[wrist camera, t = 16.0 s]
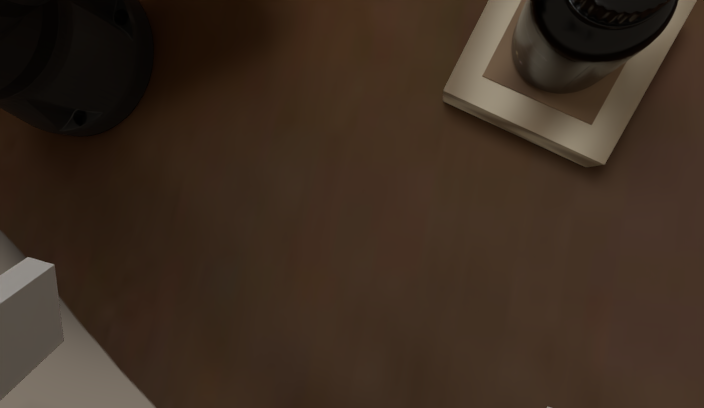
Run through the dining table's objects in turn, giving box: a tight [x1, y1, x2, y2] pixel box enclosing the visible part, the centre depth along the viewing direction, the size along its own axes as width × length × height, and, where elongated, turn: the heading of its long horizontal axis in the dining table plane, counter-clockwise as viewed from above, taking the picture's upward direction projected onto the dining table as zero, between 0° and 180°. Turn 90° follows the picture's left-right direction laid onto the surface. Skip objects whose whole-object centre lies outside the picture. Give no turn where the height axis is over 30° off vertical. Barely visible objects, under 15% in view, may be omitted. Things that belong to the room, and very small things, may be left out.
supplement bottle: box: [511, 0, 679, 94], centre depth 25 cm, size 7×7×12 cm
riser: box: [443, 0, 697, 167], centre depth 33 cm, size 12×12×4 cm
